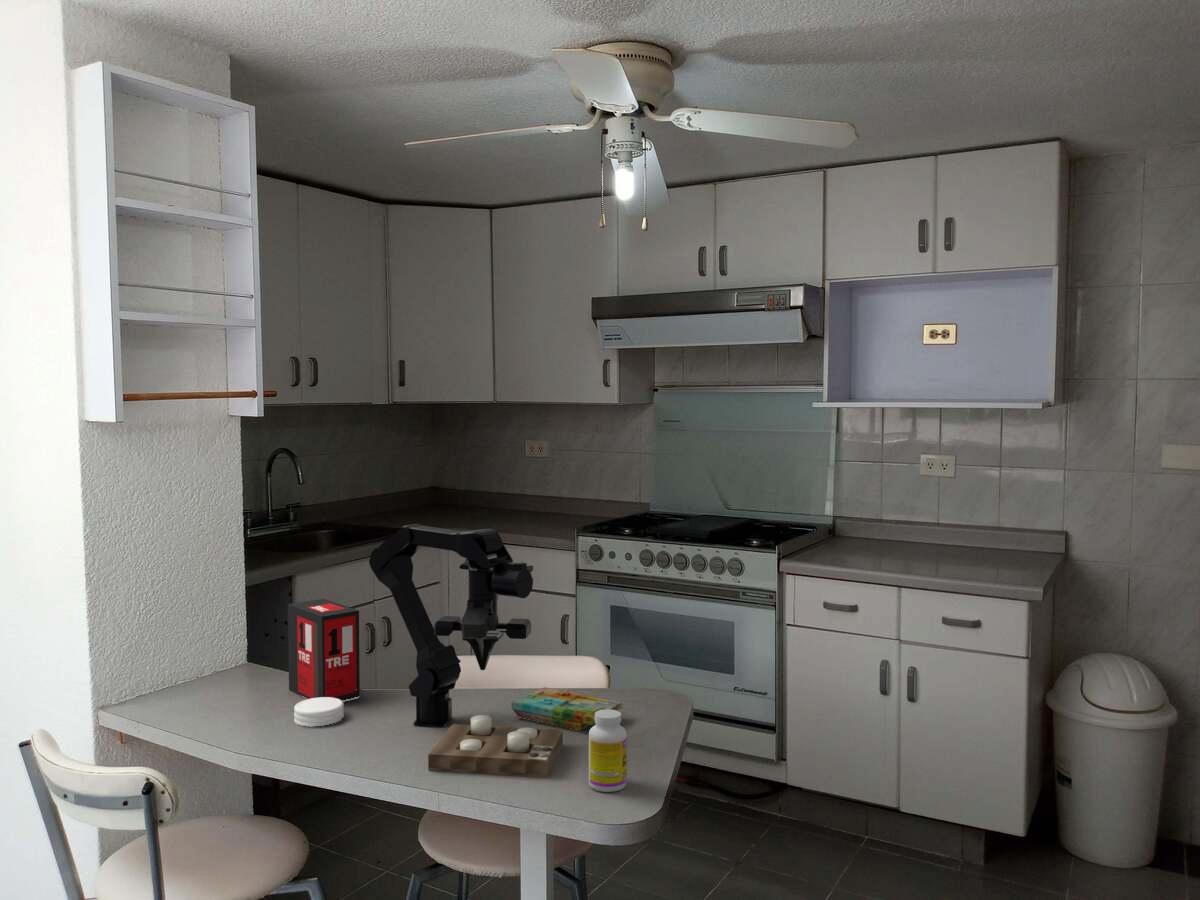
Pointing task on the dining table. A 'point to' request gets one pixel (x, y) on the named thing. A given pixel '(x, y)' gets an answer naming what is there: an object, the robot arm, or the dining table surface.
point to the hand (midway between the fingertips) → (483, 669)
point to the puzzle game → (562, 708)
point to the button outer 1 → (471, 744)
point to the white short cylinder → (318, 711)
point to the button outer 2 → (518, 742)
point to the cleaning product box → (323, 649)
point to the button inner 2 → (530, 732)
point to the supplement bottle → (607, 752)
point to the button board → (496, 753)
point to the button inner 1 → (481, 725)
